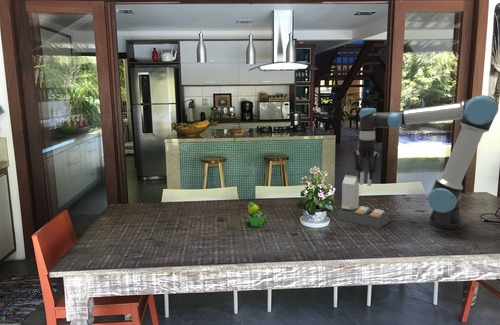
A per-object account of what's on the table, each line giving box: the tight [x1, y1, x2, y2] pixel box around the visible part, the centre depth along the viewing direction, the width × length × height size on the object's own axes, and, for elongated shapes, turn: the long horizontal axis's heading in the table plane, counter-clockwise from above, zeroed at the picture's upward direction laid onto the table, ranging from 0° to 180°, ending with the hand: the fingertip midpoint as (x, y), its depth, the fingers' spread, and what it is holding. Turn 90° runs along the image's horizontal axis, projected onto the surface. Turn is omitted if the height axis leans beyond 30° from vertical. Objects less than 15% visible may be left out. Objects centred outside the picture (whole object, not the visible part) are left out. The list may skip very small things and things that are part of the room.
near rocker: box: [370, 208, 385, 218], centre depth 200 cm, size 4×6×1 cm
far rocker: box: [341, 205, 355, 210], centre depth 211 cm, size 4×6×1 cm
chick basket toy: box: [247, 201, 267, 228], centre depth 204 cm, size 11×9×11 cm
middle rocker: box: [355, 205, 370, 215], centre depth 205 cm, size 4×6×1 cm
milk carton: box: [341, 174, 360, 209], centre depth 228 cm, size 7×7×19 cm
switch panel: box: [336, 207, 389, 229], centre depth 206 cm, size 23×10×5 cm, turn 47°
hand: (365, 184), depth 205 cm, fingers open, 3 cm apart
